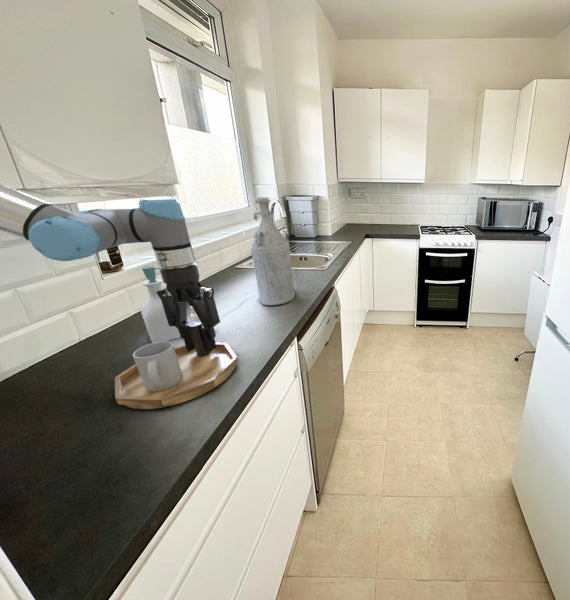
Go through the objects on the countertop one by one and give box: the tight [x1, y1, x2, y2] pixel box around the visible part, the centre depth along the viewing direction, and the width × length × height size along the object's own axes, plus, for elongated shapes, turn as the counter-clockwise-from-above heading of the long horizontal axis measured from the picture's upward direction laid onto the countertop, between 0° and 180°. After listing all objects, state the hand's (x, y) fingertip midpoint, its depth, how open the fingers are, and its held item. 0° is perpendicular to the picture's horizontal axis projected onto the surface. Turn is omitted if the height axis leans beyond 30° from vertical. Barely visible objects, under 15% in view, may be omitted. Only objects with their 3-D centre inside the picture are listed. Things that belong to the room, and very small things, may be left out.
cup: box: [132, 341, 183, 392], centre depth 70 cm, size 7×10×9 cm
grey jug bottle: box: [249, 196, 296, 306], centre depth 119 cm, size 13×17×40 cm
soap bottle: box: [140, 265, 188, 343], centre depth 93 cm, size 10×10×23 cm
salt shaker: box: [189, 305, 204, 328], centre depth 94 cm, size 5×5×11 cm
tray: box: [114, 322, 239, 410], centre depth 75 cm, size 24×24×10 cm
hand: (202, 348), depth 84 cm, fingers open, 5 cm apart
